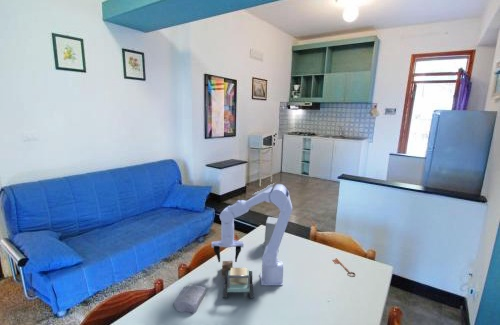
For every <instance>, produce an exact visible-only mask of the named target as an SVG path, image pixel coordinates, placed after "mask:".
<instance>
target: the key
mask: <svg viewBox="0 0 500 325" xmlns="http://www.w3.org/2000/svg"><path fill="white" fill-rule="evenodd" d="M332 262H333V263H334V265H341V266H342V268H344V270H345V271H347V276H348V277H349V278H350V277H352V278H354V277H355V276H356V273H355V272H352V271H350V270H349V268H347V267H346V266H345V265H344V264H343V263H342V262H341V261H340V260H339V259H338V258H335V259H332ZM351 274H353V275H351Z"/></svg>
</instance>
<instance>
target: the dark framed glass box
mask: <svg viewBox="0 0 500 325" xmlns="http://www.w3.org/2000/svg"><path fill="white" fill-rule="evenodd" d="M228 293H249V299H250V298H251V299H253V298H254V284H253V270H248V268H247V267H233V268H231V270H229V272H228V271H225V277H224V284H223V292H222V294H223V298H224V299H228Z"/></svg>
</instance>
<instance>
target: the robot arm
mask: <svg viewBox="0 0 500 325" xmlns="http://www.w3.org/2000/svg"><path fill="white" fill-rule="evenodd" d="M235 202H236V203H234V204H232V205H228V206H226V207H225V208H224V209H223V210H222V211H221V212H220V213H219V219H220V221H221V227H220V228H221V229H220V230H221V232H220V234H221V236H220V237H221V240H215V241H211V248H213V252H214V254H216V258H217V263H220V262H221V248H233V247H234V248H235V257H234V263H235V262H236V263H237V261H238V258H239V255H240V253H241V251H242V248H244V243H245V242H244V241H240V240H235V223H234V222H235V219H237V218H239V217H240V216H242V215H244V214H246V213H248V212H249V210H250V208H252V207H254V206H257V205H258V204H261V203H263V202H266V203H270V204H271V203H272V204H274V205H275V206H276V207H277V208H278V210H279V211H280V212H279V214H278V217H277V218H278V220H277V223H276V225H275V228H274V231H273V234H272V237H271V240H270V242H269V244H268V245H266V247H265V248H264V252H263V255H262V257H261V261H262V263H261V273H259V275H260V276H259V277H260V285H261V286H283V285H284V283H283V281H284V280H283V279H284V264H283V261H282V260H279V259H278V254H279V248H280V245H281V243H282V240H283V237H284V234H285V231H286V229H287V227H288V224H289V220H290V217H291V215H292V212H293V204H292V201H291V197H290V191H289V189H287V187H286V186H285V185H284V184H282V183H277V184H274V185H271V186H269V187H268V188H267V189H265V190H263V191H261V192H258V193H256V194H255V195H253V196H252V197H251V198H249V199H248V200H245V199H241V200H239V199H238V200H236V201H235Z"/></svg>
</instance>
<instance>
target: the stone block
mask: <svg viewBox="0 0 500 325" xmlns="http://www.w3.org/2000/svg"><path fill="white" fill-rule="evenodd" d="M206 292H207V291H206V287H205V286H201V285H197V284H196V285H195V284H189V285H186V286H184V287H183V288H182V289H181V290H180V292H179V293H178V295H177V297H176V299H175V300H174V303H173V304H174V305H173V306H174V308H175V310H176V311H178V312H187V313H194V314H195V313H196V312H197V311H198V310H199V307H200V305H201V303H202V301H203V300H204V297H205V296H206Z"/></svg>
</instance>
